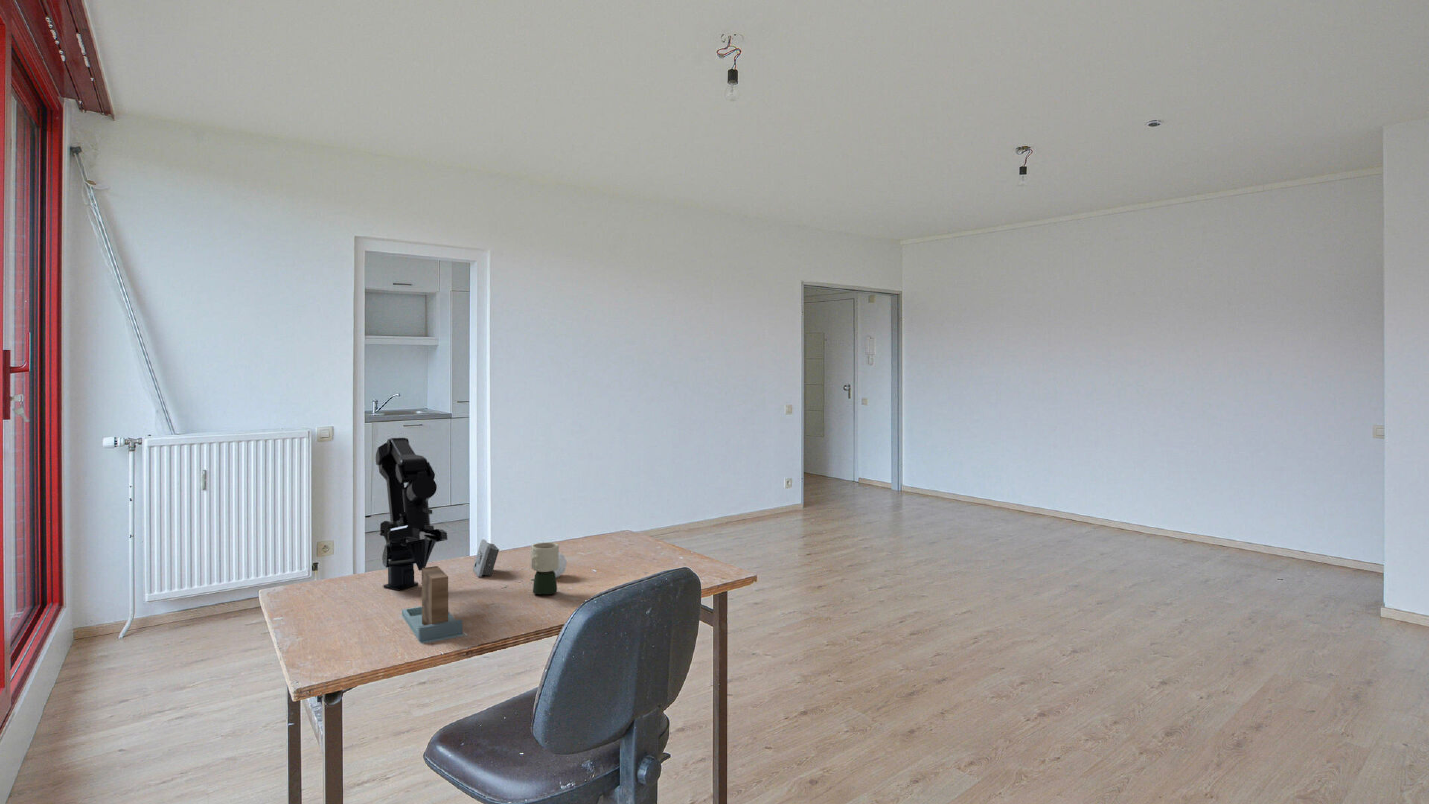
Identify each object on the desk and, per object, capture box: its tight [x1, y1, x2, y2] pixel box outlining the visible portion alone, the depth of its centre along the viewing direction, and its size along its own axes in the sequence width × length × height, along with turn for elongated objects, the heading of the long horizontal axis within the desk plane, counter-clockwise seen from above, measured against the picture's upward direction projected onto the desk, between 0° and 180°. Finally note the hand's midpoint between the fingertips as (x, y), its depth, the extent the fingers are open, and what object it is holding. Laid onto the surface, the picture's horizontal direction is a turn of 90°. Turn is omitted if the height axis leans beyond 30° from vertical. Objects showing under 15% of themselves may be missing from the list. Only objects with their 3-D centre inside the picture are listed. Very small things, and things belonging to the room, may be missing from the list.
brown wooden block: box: [421, 565, 449, 625], centre depth 165 cm, size 10×4×13 cm, turn 33°
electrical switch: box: [472, 538, 500, 578], centre depth 212 cm, size 9×5×9 cm, turn 28°
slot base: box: [401, 605, 464, 645], centre depth 167 cm, size 21×9×4 cm, turn 33°
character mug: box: [530, 541, 560, 596], centre depth 193 cm, size 11×7×13 cm, turn 157°
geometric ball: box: [554, 552, 568, 579], centre depth 209 cm, size 8×8×8 cm
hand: (421, 570), depth 178 cm, fingers closed
